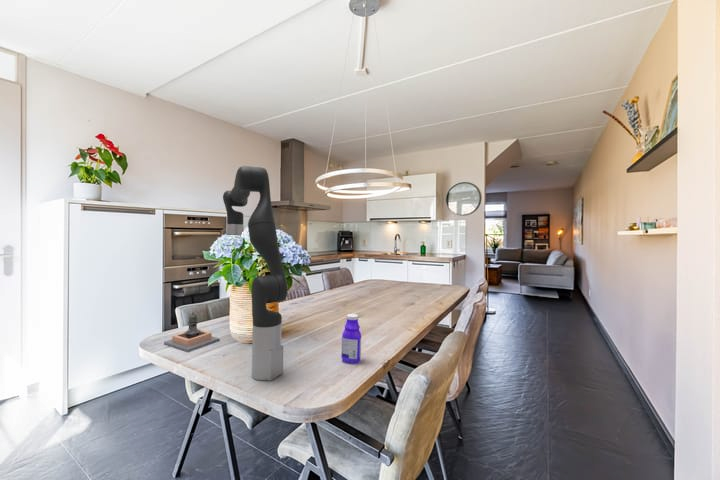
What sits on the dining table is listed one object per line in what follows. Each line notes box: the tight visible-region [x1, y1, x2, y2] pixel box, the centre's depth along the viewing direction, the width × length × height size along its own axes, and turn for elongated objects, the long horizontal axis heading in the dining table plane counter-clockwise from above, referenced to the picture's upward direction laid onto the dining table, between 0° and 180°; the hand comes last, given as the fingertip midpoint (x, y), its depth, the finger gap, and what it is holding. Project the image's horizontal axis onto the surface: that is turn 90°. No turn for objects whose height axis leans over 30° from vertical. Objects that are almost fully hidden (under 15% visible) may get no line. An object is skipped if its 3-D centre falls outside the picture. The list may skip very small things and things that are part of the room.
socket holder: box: [163, 328, 221, 353], centre depth 123 cm, size 16×14×4 cm
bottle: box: [340, 313, 362, 364], centre depth 109 cm, size 7×6×17 cm
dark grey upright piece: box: [184, 312, 201, 339], centre depth 122 cm, size 6×6×12 cm
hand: (234, 268), depth 135 cm, fingers open, 8 cm apart
